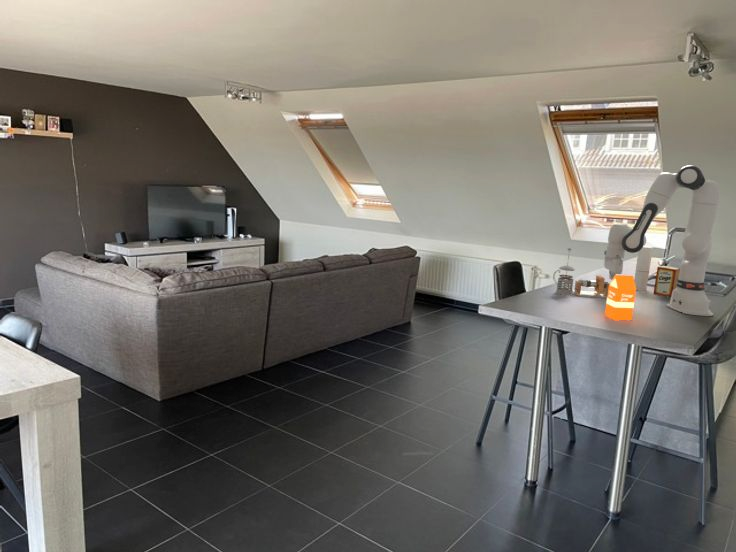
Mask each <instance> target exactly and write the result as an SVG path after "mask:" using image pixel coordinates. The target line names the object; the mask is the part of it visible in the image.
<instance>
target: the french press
mask: <svg viewBox="0 0 736 552" xmlns="http://www.w3.org/2000/svg"><path fill="white" fill-rule="evenodd" d="M567 251H568V252H570V251H572V248H570V247H568V248H567ZM569 259H570V255H568V258H567V260H569ZM561 270H562V271H566V274H560V273H561ZM574 271H576V269H575V268H574V267H573V266H570V265H569V263H567V264H566V265H562V266H560V267H559V269H557V270H556V271H554V273H553V274H552V275H553V276H552V279H553V281H554V282H556V290H555V291H554V294H556V293H558V294H557V295H560V294H562V295H561V296H567V295H570V296H573V295H572V294H574V293H573V292H572V290H573V286H574V279H573V278H574V276H573V275H568V272H574ZM557 272H558V273H559V278H557V280H556V279H555V276H556V274H557Z"/></svg>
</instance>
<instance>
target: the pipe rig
mask: <svg viewBox="0 0 736 552" xmlns="http://www.w3.org/2000/svg"><path fill="white" fill-rule="evenodd" d="M599 282H600V281H596V280H590V279H585V280H584V279H576V280H575V283H574V289H572V293H573V292H574V293H575V294H576V295H578V296H577V297H586V296H590V298H599V297H603V298H602V299H607V296H608V289H609V285H610V283H609V282H608V281H604V288H603V294H598V293H597V292H596V291H591V290H582V287H584V288H594V289H595V288H599ZM574 293H573V294H574ZM575 294H574V295H575ZM576 295H575V296H576Z"/></svg>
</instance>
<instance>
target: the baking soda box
mask: <svg viewBox="0 0 736 552" xmlns="http://www.w3.org/2000/svg"><path fill="white" fill-rule="evenodd" d="M679 272H680V268H677V267H674V266H671V265H670V266H668V265H666V266H665V265H659V266H657V269H656V274H655V275H656V276H655V282H654V287H653V295H656V294H657V296H661V295H662V297H667V296H669V297H668V298H671V295H672V291H673V290H674V289H675V288H676V287H677V286H676V284H677V279H678V278H679Z"/></svg>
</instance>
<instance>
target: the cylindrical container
mask: <svg viewBox="0 0 736 552" xmlns="http://www.w3.org/2000/svg"><path fill="white" fill-rule="evenodd" d="M653 250H654V248H653V246H649V245H648V246H647V245H644V246H643V247H642V249H641V250H640V251H638V252H637V259H636V264H635V266H636V267H635V274H634V282H635V287H636V290H637V289H638V291H647V288H648V284H649V283H648V282H649V275H650V269H651V262H652V255H653Z"/></svg>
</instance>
